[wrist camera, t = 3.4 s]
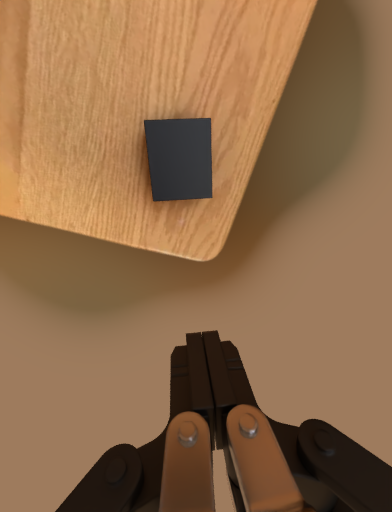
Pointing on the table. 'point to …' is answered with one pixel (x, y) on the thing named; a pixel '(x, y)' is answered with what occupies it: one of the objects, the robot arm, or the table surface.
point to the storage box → (179, 158)
